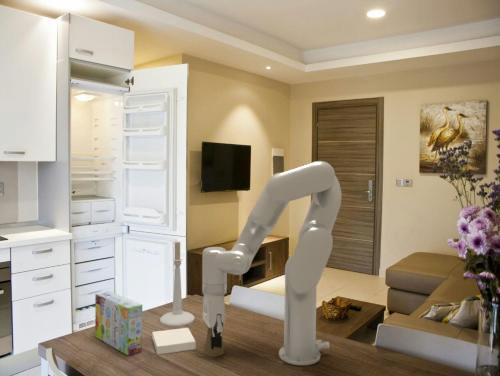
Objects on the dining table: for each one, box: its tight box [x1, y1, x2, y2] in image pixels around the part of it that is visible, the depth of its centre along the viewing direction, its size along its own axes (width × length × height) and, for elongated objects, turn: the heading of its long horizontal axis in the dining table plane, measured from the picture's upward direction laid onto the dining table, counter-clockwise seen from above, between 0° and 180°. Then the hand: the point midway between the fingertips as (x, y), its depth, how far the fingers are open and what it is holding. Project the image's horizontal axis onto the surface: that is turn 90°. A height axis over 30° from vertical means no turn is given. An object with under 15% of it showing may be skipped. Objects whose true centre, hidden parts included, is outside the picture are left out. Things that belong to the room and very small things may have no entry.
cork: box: [204, 321, 225, 358], centre depth 131 cm, size 6×6×11 cm
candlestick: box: [159, 240, 196, 327], centre depth 158 cm, size 13×13×30 cm
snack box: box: [94, 290, 143, 357], centre depth 137 cm, size 21×6×15 cm, turn 47°
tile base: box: [151, 327, 197, 355], centre depth 137 cm, size 12×12×2 cm
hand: (214, 344), depth 131 cm, fingers closed on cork, 3 cm apart
